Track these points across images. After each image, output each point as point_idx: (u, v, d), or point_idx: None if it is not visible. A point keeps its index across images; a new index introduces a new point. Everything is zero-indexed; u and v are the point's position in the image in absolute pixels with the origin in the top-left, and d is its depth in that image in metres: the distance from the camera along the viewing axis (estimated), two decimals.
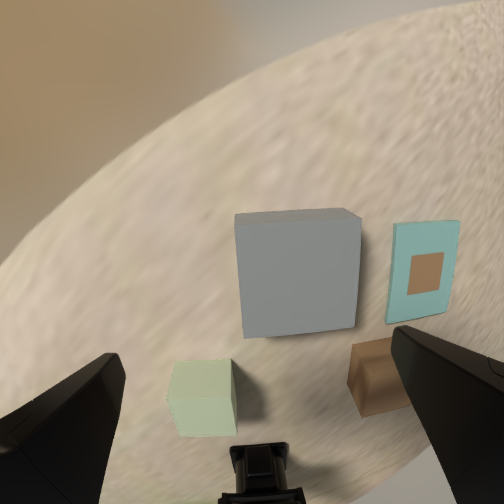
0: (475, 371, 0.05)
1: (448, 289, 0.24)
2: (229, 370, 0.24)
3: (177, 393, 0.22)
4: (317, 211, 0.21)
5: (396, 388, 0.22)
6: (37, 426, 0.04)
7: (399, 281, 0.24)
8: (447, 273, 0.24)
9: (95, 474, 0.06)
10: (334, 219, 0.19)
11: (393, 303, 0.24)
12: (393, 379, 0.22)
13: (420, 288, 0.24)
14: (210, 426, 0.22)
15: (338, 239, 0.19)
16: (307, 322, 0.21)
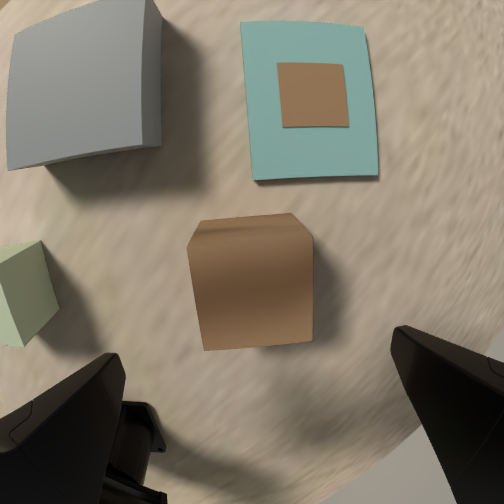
0: (475, 371, 0.05)
1: (371, 131, 0.15)
2: (26, 247, 0.15)
3: None
4: None
5: (261, 288, 0.13)
6: (37, 426, 0.04)
7: (261, 102, 0.14)
8: (359, 101, 0.14)
9: (95, 474, 0.06)
10: None
11: (258, 141, 0.15)
12: (244, 260, 0.12)
13: (308, 119, 0.15)
14: None
15: (113, 15, 0.10)
16: (71, 137, 0.11)
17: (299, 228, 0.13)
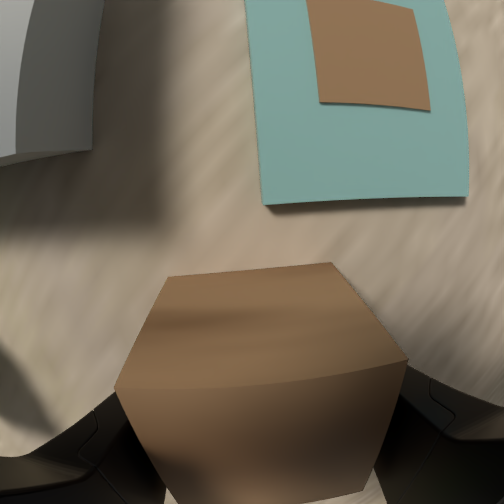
0: (409, 394, 0.05)
1: (460, 123, 0.08)
2: None
3: None
4: None
5: (285, 453, 0.05)
6: (110, 440, 0.05)
7: (278, 55, 0.07)
8: (442, 70, 0.07)
9: (160, 483, 0.06)
10: None
11: (273, 127, 0.07)
12: (249, 416, 0.05)
13: (365, 90, 0.07)
14: None
15: None
16: None
17: (367, 323, 0.06)
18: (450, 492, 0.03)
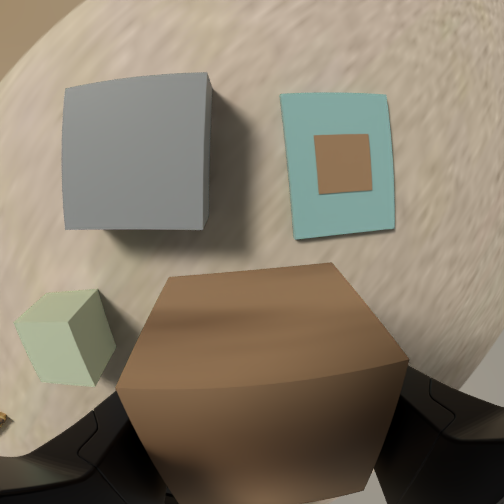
0: (409, 394, 0.05)
1: (389, 192, 0.18)
2: (87, 298, 0.18)
3: (25, 318, 0.16)
4: None
5: (286, 453, 0.05)
6: (110, 440, 0.05)
7: (301, 172, 0.18)
8: (381, 166, 0.18)
9: (160, 483, 0.06)
10: (171, 74, 0.13)
11: (299, 206, 0.18)
12: (250, 416, 0.05)
13: (339, 185, 0.18)
14: (62, 368, 0.16)
15: (174, 96, 0.13)
16: (135, 212, 0.15)
17: (368, 323, 0.06)
18: (450, 492, 0.03)
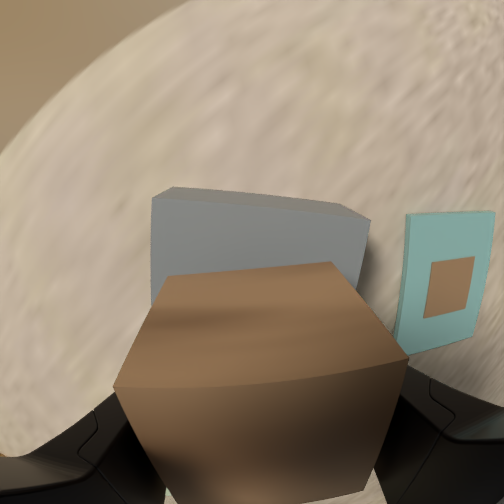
0: (409, 394, 0.05)
1: (477, 307, 0.16)
2: None
3: None
4: (299, 201, 0.13)
5: (286, 452, 0.05)
6: (110, 440, 0.05)
7: (413, 300, 0.16)
8: (477, 285, 0.16)
9: (160, 483, 0.06)
10: (325, 214, 0.11)
11: (404, 330, 0.16)
12: (249, 415, 0.05)
13: (441, 308, 0.16)
14: None
15: (327, 248, 0.11)
16: None
17: (368, 322, 0.06)
18: (450, 492, 0.03)
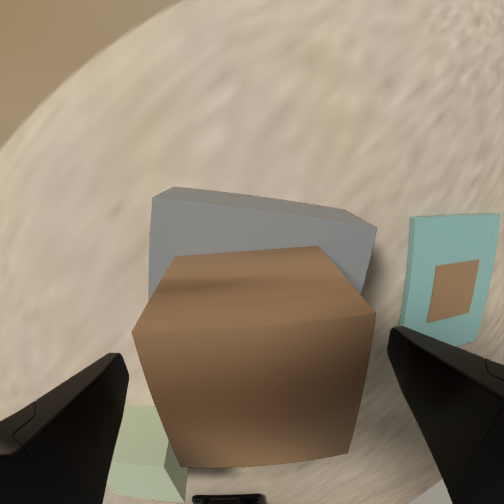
0: (471, 373, 0.05)
1: (480, 311, 0.16)
2: None
3: None
4: (304, 205, 0.13)
5: (274, 400, 0.06)
6: (41, 427, 0.04)
7: (417, 304, 0.15)
8: (481, 289, 0.15)
9: (99, 475, 0.06)
10: (331, 220, 0.11)
11: None
12: (243, 358, 0.06)
13: (445, 312, 0.16)
14: (147, 491, 0.14)
15: (332, 255, 0.11)
16: None
17: (344, 288, 0.07)
18: None
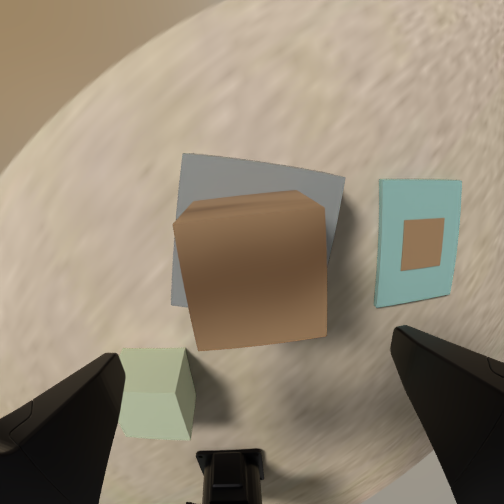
0: (475, 371, 0.05)
1: (451, 266, 0.20)
2: (180, 361, 0.20)
3: None
4: None
5: (265, 273, 0.10)
6: (37, 426, 0.04)
7: (389, 252, 0.19)
8: (449, 245, 0.19)
9: (95, 474, 0.06)
10: (310, 171, 0.14)
11: (384, 281, 0.20)
12: (242, 238, 0.10)
13: (417, 262, 0.20)
14: (157, 427, 0.18)
15: (311, 197, 0.15)
16: None
17: (307, 201, 0.11)
18: None
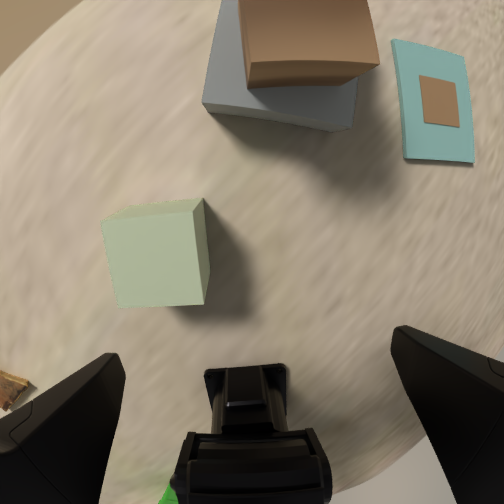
0: (475, 371, 0.05)
1: (470, 132, 0.18)
2: (198, 201, 0.18)
3: (118, 217, 0.15)
4: None
5: None
6: (37, 426, 0.04)
7: (411, 102, 0.17)
8: (464, 110, 0.17)
9: (95, 474, 0.06)
10: None
11: (410, 129, 0.18)
12: None
13: (438, 118, 0.18)
14: (161, 281, 0.16)
15: None
16: (290, 98, 0.14)
17: None
18: None
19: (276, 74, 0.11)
